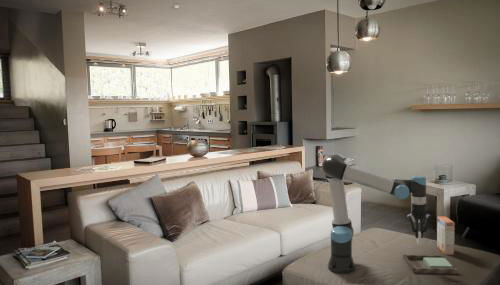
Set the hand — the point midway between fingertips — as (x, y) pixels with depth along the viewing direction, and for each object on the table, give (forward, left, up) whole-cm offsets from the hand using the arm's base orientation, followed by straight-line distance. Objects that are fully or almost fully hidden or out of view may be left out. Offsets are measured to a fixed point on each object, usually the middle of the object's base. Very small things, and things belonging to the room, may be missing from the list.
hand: (419, 243), depth 223 cm
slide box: (+6, 0, -14) cm, 15 cm away
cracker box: (+24, +25, -14) cm, 37 cm away
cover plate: (+10, 0, -13) cm, 17 cm away
